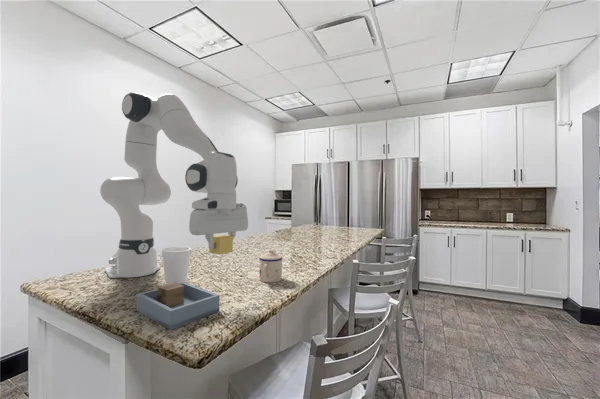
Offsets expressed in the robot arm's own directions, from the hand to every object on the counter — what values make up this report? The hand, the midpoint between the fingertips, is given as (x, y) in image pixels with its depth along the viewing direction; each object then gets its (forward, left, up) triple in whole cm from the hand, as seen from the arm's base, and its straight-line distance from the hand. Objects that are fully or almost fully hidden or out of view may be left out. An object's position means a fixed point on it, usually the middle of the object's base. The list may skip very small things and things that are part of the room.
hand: (220, 247), depth 85 cm
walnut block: (-5, -13, -15) cm, 21 cm away
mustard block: (0, 0, -2) cm, 2 cm away
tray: (-1, -13, -16) cm, 21 cm away
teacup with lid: (-1, +24, -16) cm, 29 cm away
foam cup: (-22, -2, -16) cm, 28 cm away
